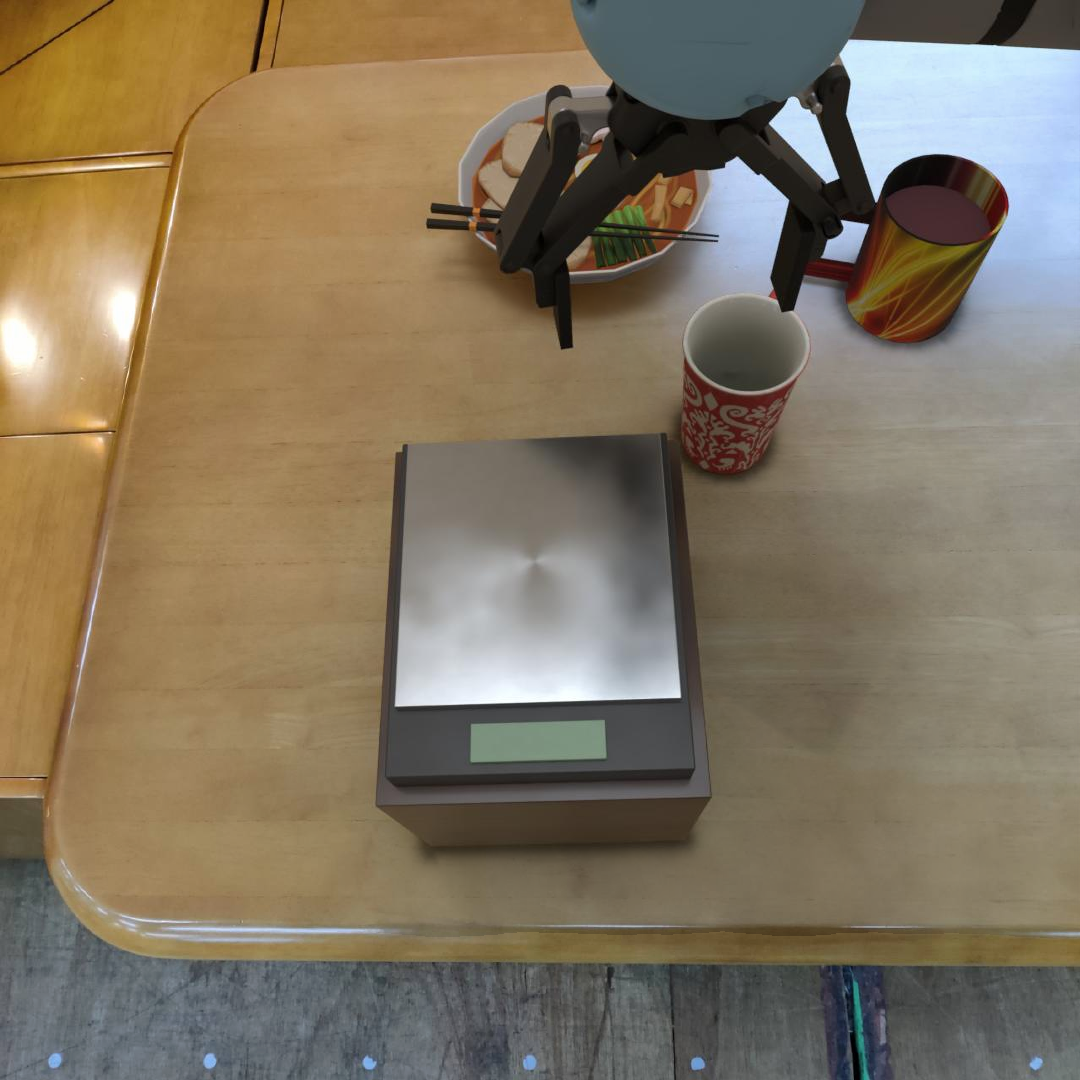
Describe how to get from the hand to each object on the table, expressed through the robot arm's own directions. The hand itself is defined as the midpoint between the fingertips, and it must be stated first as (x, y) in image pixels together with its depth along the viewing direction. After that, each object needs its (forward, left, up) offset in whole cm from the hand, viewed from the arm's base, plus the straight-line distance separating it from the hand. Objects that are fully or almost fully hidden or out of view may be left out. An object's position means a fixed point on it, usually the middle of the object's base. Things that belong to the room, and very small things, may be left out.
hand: (672, 313), depth 57 cm
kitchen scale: (-17, +9, -4) cm, 20 cm away
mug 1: (+6, -7, -23) cm, 25 cm away
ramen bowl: (+28, +5, -23) cm, 36 cm away
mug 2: (+18, -21, -23) cm, 36 cm away
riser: (-17, +9, -22) cm, 30 cm away
